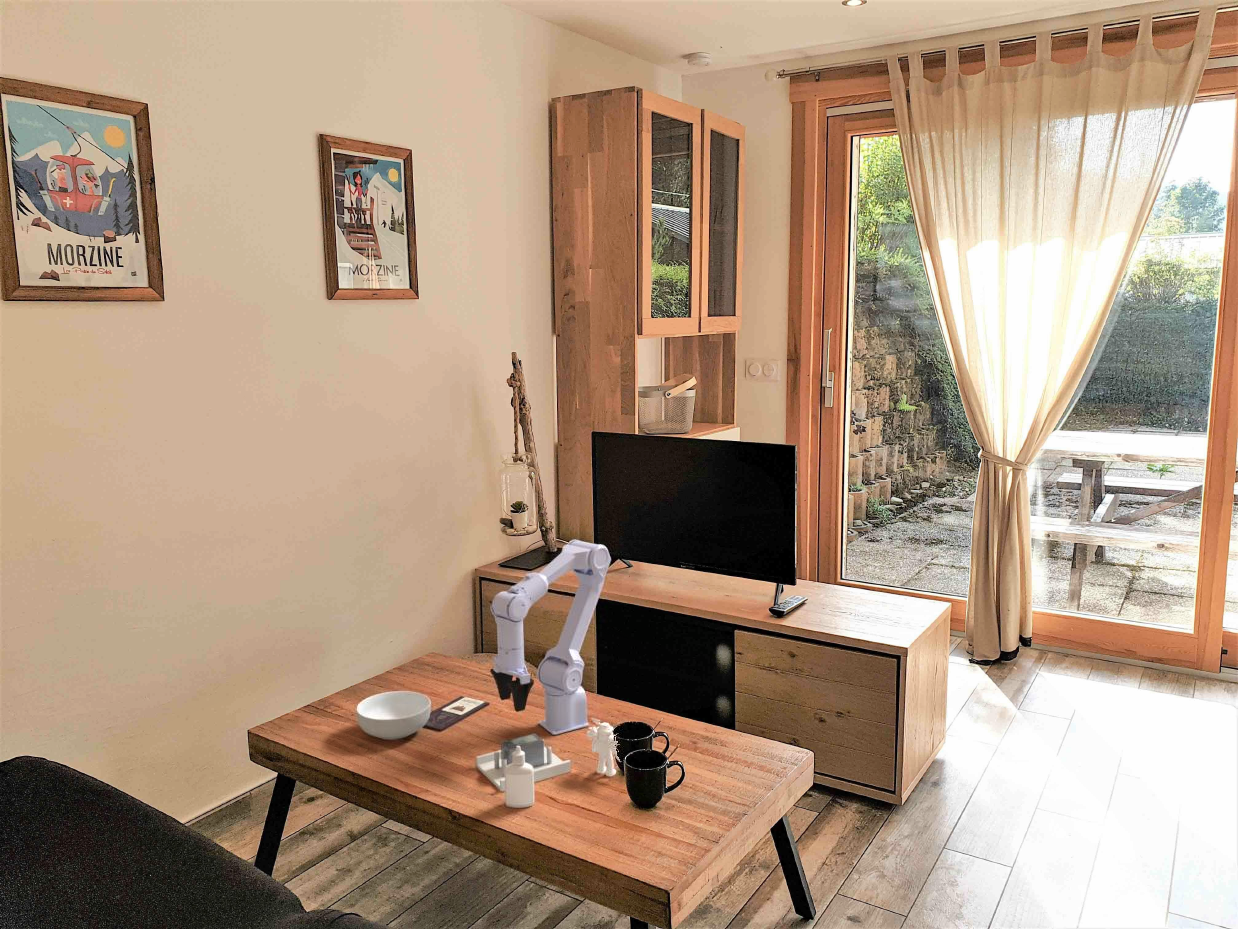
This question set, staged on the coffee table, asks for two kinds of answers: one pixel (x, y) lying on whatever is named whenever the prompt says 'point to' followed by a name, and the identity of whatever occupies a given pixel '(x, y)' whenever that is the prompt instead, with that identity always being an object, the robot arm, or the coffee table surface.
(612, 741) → the flower shoulder figurine
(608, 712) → the coffee table surface
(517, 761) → the eye dropper bottle
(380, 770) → the coffee table surface
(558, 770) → the tray
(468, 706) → the chocolate bar
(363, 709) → the cereal bowl
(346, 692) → the coffee table surface
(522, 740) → the grey rectangular block
